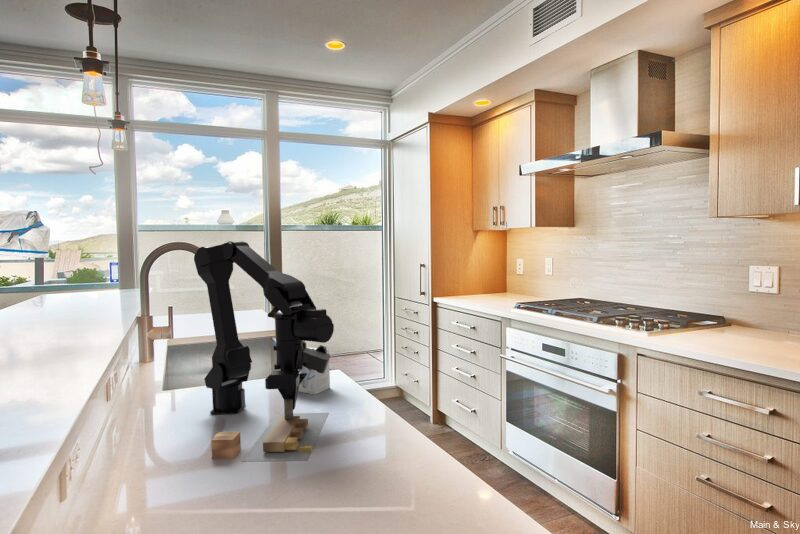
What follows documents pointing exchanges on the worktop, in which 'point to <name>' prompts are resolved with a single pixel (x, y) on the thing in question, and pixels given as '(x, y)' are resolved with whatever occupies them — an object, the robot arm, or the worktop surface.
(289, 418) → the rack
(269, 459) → the base plate
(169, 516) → the worktop surface
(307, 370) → the light bulb box
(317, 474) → the worktop surface
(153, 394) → the worktop surface
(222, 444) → the yellow-striped wooden block
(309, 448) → the pointer
